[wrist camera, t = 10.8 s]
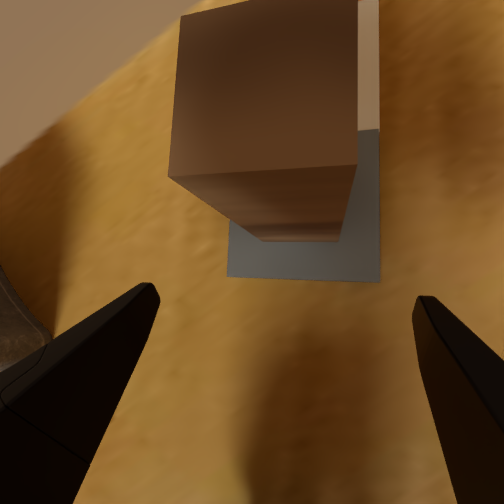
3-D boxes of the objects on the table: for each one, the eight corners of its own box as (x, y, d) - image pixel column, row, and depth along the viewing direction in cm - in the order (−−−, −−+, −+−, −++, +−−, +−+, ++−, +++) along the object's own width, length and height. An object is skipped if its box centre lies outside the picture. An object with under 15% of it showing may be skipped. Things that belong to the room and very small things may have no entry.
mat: (378, 282, 18) (380, 282, 17) (229, 276, 20) (226, 276, 20) (377, 133, 19) (378, 128, 18) (236, 146, 21) (233, 142, 21)
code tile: (378, 135, 19) (379, 132, 18) (237, 148, 21) (235, 145, 21) (377, 2, 20) (378, -4, 19) (243, 30, 22) (241, 25, 22)
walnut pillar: (338, 242, 18) (357, 164, 6) (262, 241, 19) (168, 176, 8) (338, 168, 19) (358, -25, 7) (265, 172, 20) (180, 16, 8)
